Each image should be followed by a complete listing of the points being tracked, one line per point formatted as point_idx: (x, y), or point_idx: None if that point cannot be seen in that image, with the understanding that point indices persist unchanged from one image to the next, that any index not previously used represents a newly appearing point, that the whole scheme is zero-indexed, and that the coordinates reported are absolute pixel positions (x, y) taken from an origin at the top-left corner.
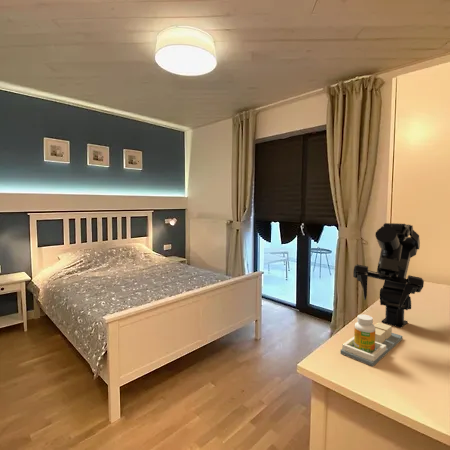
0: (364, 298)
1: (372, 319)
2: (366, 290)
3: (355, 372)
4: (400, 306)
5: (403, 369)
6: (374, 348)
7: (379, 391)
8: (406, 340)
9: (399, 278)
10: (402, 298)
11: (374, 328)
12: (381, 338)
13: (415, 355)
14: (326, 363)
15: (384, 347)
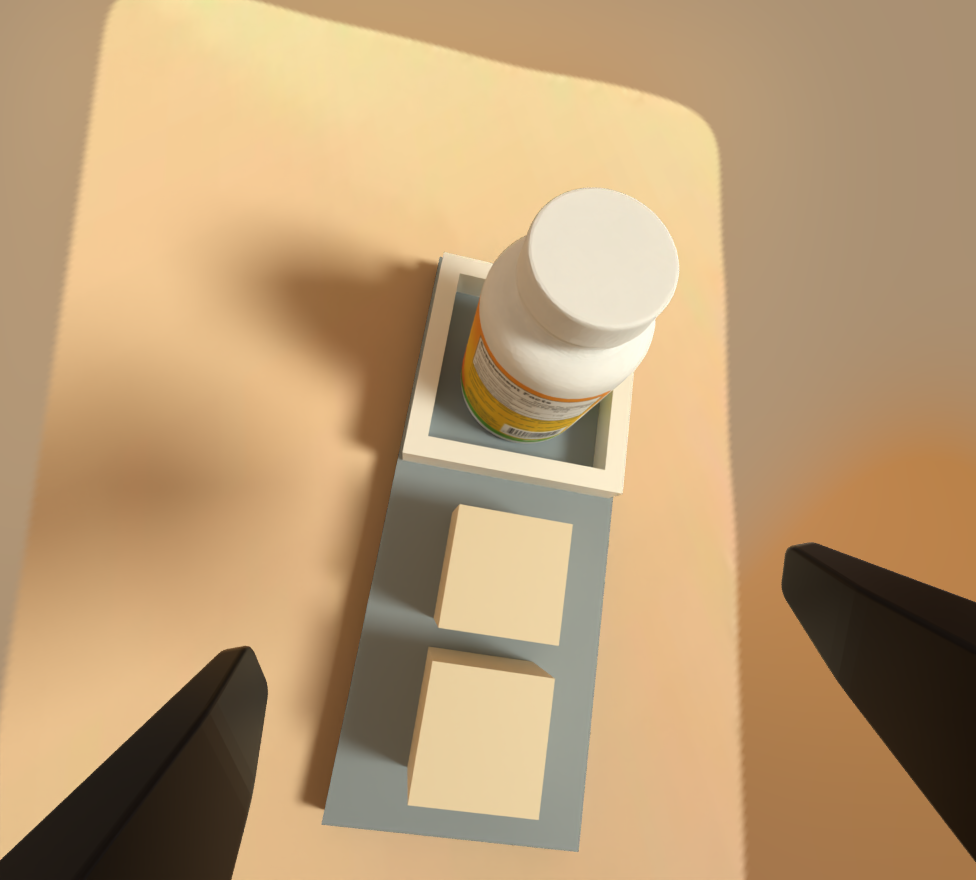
0: (812, 546)
1: (526, 247)
2: (954, 630)
3: (498, 176)
4: (216, 666)
5: (285, 330)
6: (462, 366)
7: (369, 89)
8: (293, 805)
9: None
10: (99, 815)
11: (487, 289)
12: (450, 537)
13: (221, 562)
14: (637, 183)
15: (408, 425)
